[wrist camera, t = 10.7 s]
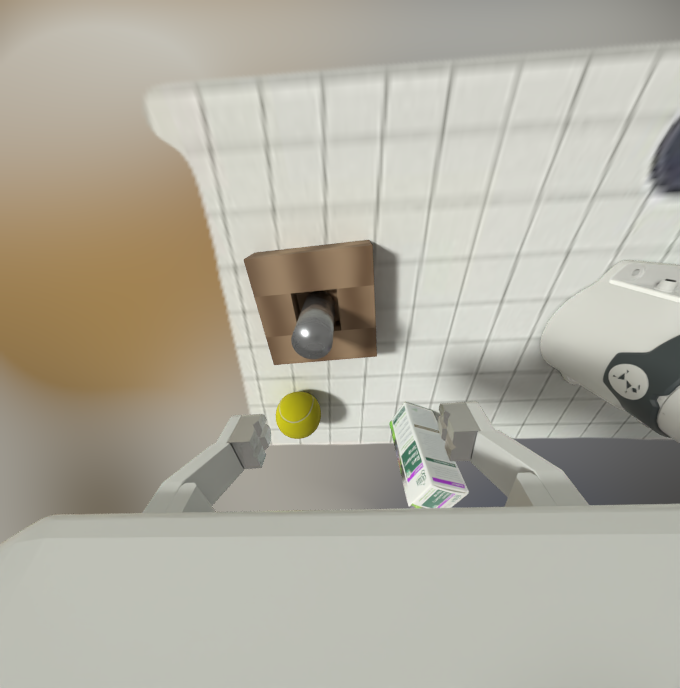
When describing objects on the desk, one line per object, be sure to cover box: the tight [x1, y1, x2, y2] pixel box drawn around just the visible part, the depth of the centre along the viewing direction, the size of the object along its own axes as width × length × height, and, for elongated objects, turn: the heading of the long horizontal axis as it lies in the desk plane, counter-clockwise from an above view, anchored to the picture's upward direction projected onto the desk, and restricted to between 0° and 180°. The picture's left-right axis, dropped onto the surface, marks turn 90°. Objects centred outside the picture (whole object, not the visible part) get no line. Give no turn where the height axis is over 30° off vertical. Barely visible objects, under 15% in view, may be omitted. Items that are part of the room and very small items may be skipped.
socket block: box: [244, 240, 377, 365], centre depth 32 cm, size 14×14×4 cm
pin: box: [291, 290, 335, 359], centre depth 28 cm, size 4×4×10 cm
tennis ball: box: [276, 392, 321, 439], centre depth 39 cm, size 7×7×7 cm
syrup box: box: [390, 402, 469, 509], centre depth 38 cm, size 6×6×14 cm
